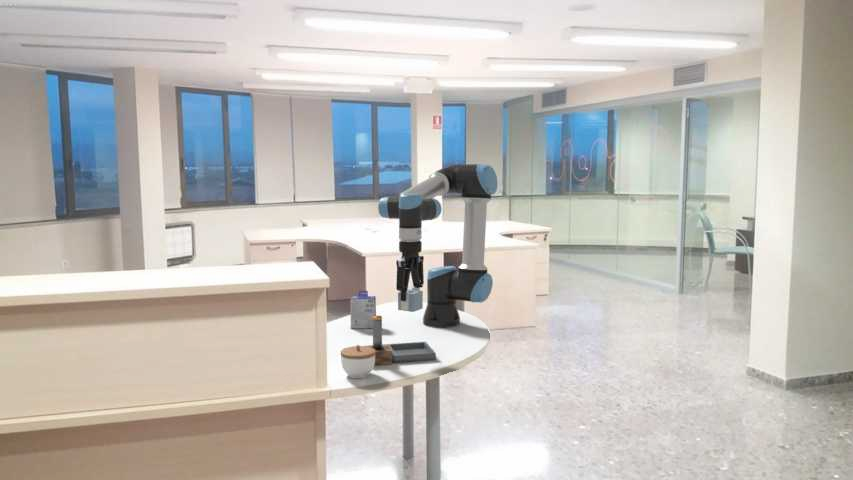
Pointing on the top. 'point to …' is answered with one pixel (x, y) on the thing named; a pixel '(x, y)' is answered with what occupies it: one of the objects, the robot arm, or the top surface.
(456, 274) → the robot arm
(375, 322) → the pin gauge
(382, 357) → the go block
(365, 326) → the ink cartridge box
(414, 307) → the block
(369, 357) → the lidded jar
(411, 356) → the tray
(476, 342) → the top surface
